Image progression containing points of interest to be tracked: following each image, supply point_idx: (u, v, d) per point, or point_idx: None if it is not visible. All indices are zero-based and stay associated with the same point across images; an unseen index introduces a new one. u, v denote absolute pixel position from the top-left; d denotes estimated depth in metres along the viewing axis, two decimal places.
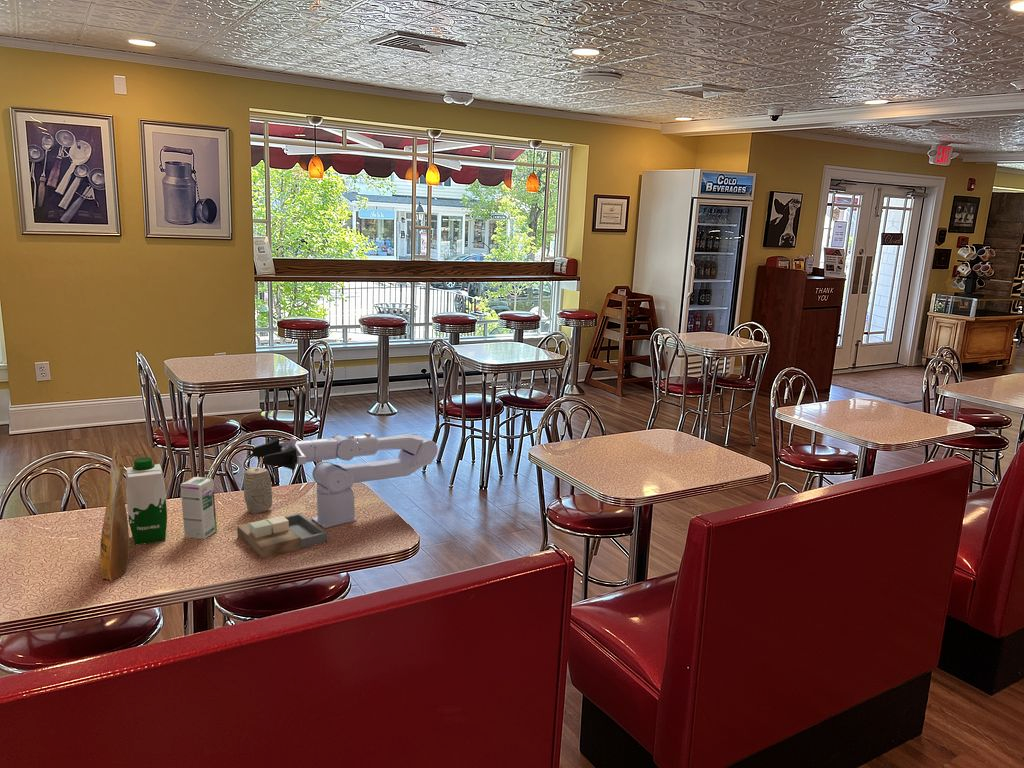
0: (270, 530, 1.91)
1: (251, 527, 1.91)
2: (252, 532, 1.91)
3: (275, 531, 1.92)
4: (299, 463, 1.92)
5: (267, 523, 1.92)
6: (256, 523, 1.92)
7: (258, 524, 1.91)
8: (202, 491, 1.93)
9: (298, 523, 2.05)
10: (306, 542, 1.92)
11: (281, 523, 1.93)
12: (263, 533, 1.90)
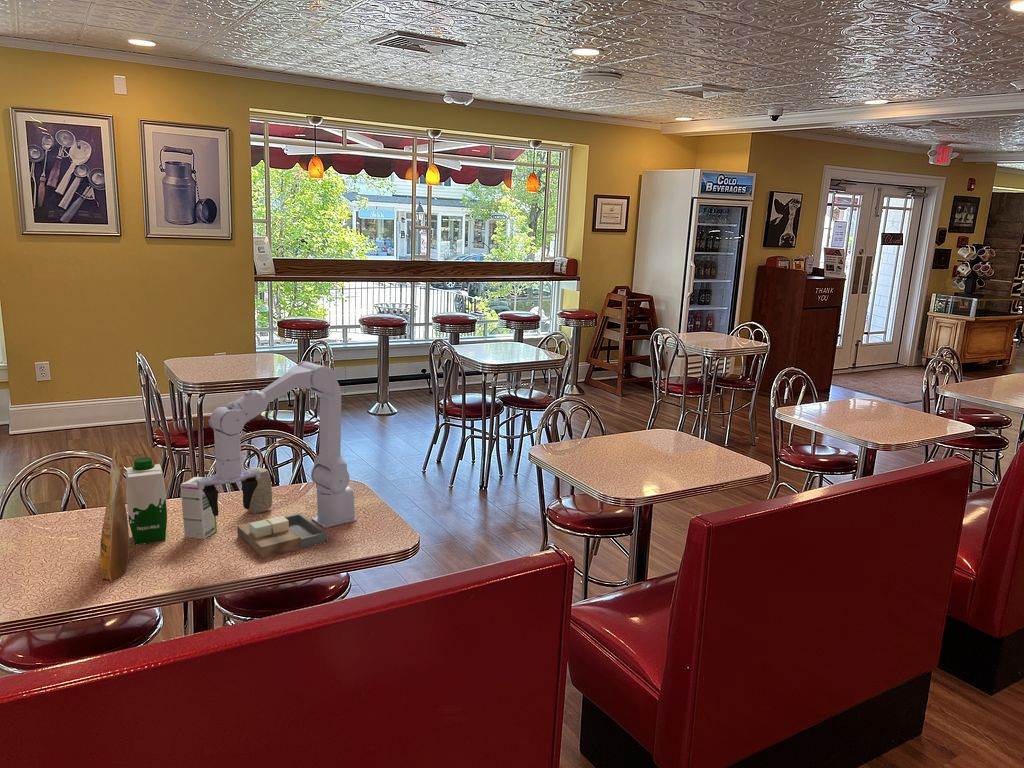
0: (270, 530, 1.91)
1: (251, 527, 1.91)
2: (252, 532, 1.91)
3: (275, 531, 1.92)
4: None
5: (267, 523, 1.92)
6: (256, 523, 1.92)
7: (258, 524, 1.91)
8: (202, 491, 1.93)
9: (298, 523, 2.05)
10: (306, 542, 1.92)
11: (281, 523, 1.93)
12: (263, 533, 1.90)
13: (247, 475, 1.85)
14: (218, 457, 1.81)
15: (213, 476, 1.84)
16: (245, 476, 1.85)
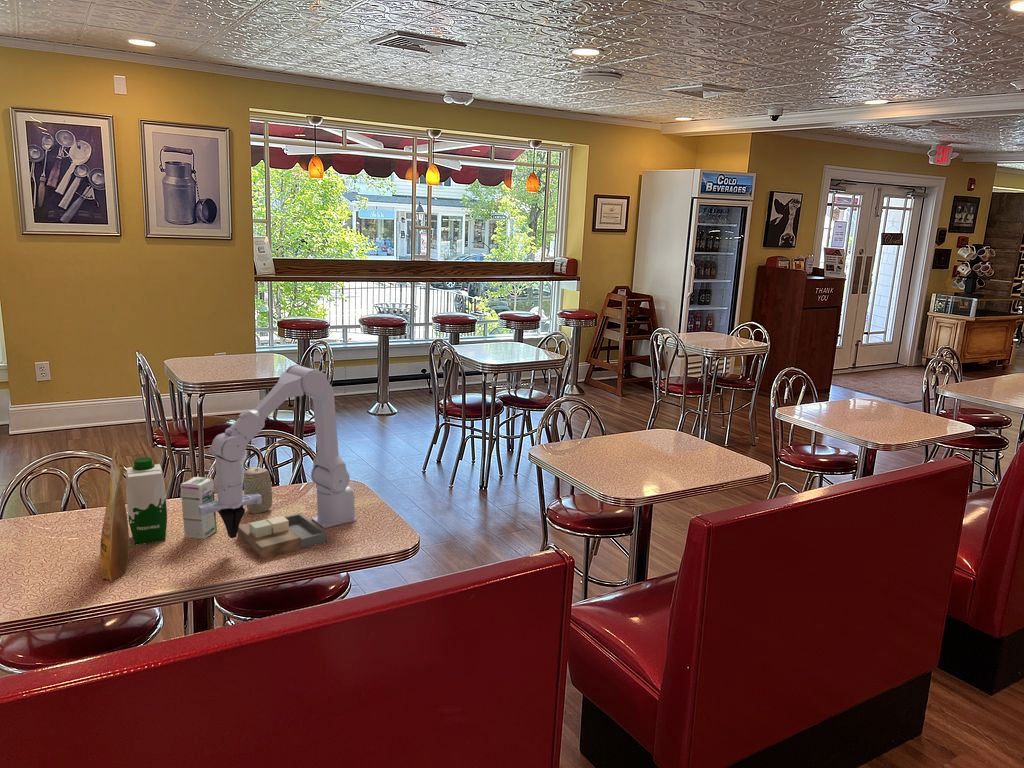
0: (270, 530, 1.91)
1: (251, 527, 1.91)
2: (252, 532, 1.91)
3: (275, 531, 1.92)
4: None
5: (267, 523, 1.92)
6: (256, 523, 1.92)
7: (258, 524, 1.91)
8: (202, 491, 1.93)
9: (298, 523, 2.05)
10: (306, 542, 1.92)
11: (281, 523, 1.93)
12: (263, 533, 1.90)
13: (248, 500, 1.87)
14: (219, 483, 1.82)
15: (214, 502, 1.85)
16: (246, 502, 1.86)
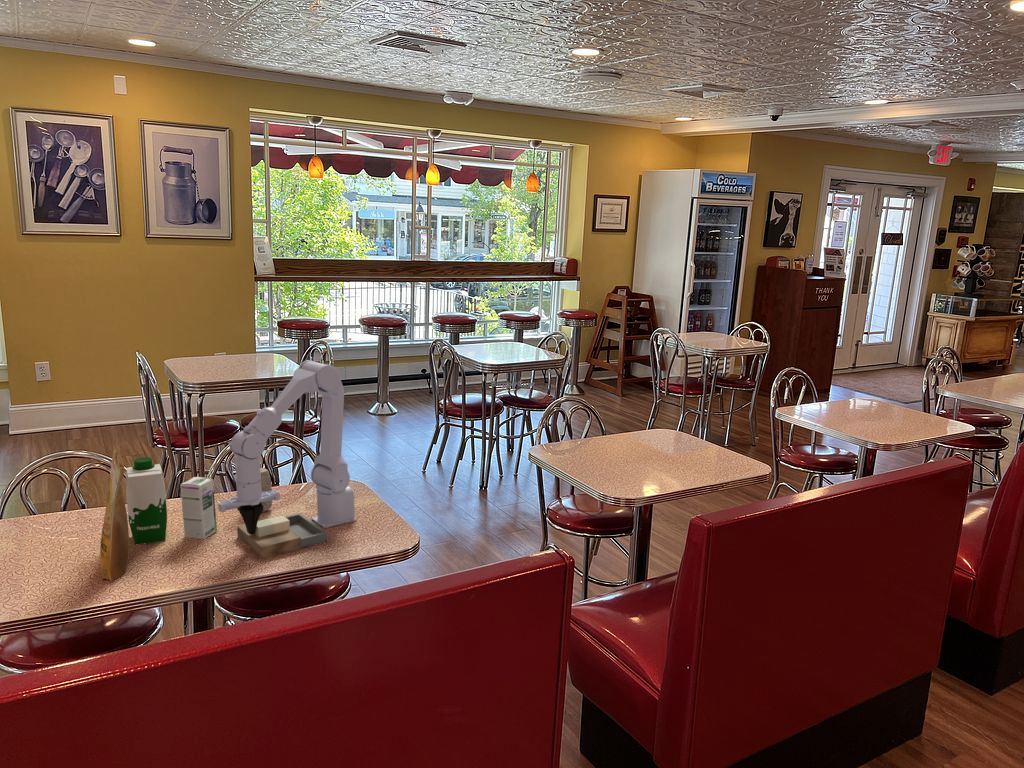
0: (273, 529, 1.92)
1: None
2: (255, 531, 1.91)
3: (276, 531, 1.92)
4: None
5: (270, 522, 1.92)
6: (259, 522, 1.92)
7: (261, 523, 1.92)
8: (202, 491, 1.93)
9: (298, 523, 2.05)
10: (306, 542, 1.92)
11: (282, 523, 1.93)
12: (266, 532, 1.91)
13: (267, 497, 1.89)
14: (239, 480, 1.85)
15: (234, 498, 1.88)
16: (265, 498, 1.89)
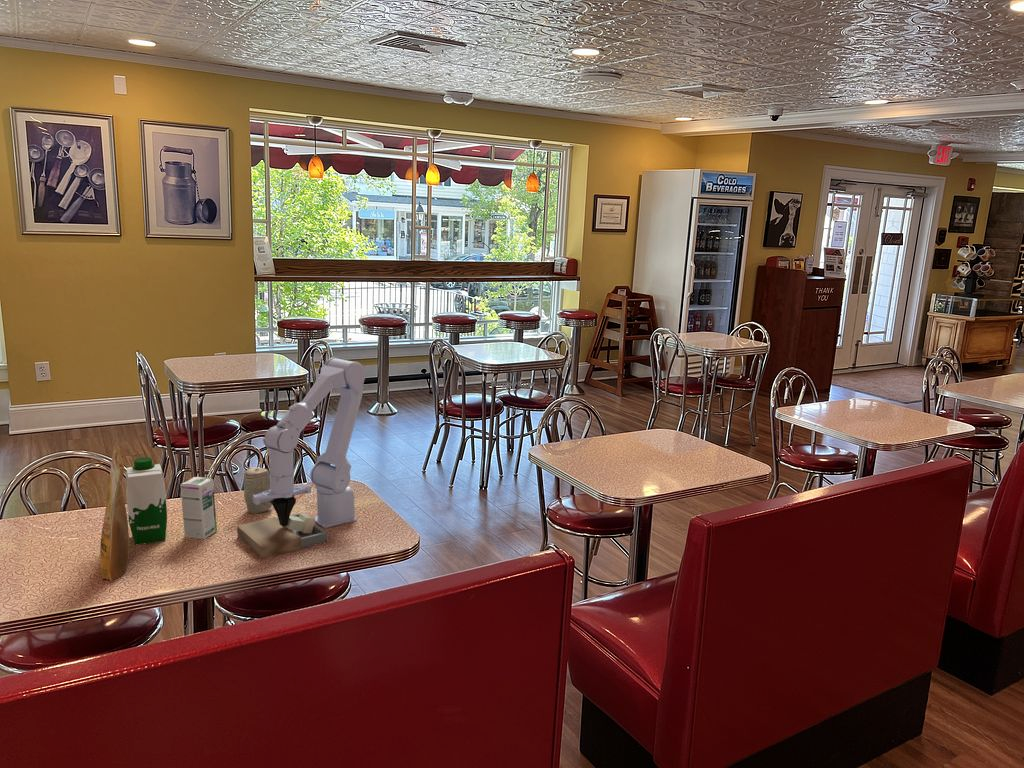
0: (303, 526, 1.97)
1: None
2: None
3: (307, 519, 1.98)
4: None
5: (302, 520, 1.98)
6: (292, 517, 1.98)
7: (294, 518, 1.97)
8: (202, 491, 1.93)
9: None
10: (306, 542, 1.92)
11: (312, 526, 1.99)
12: (296, 527, 1.96)
13: (299, 490, 1.95)
14: (274, 474, 1.90)
15: (267, 491, 1.93)
16: (297, 491, 1.94)
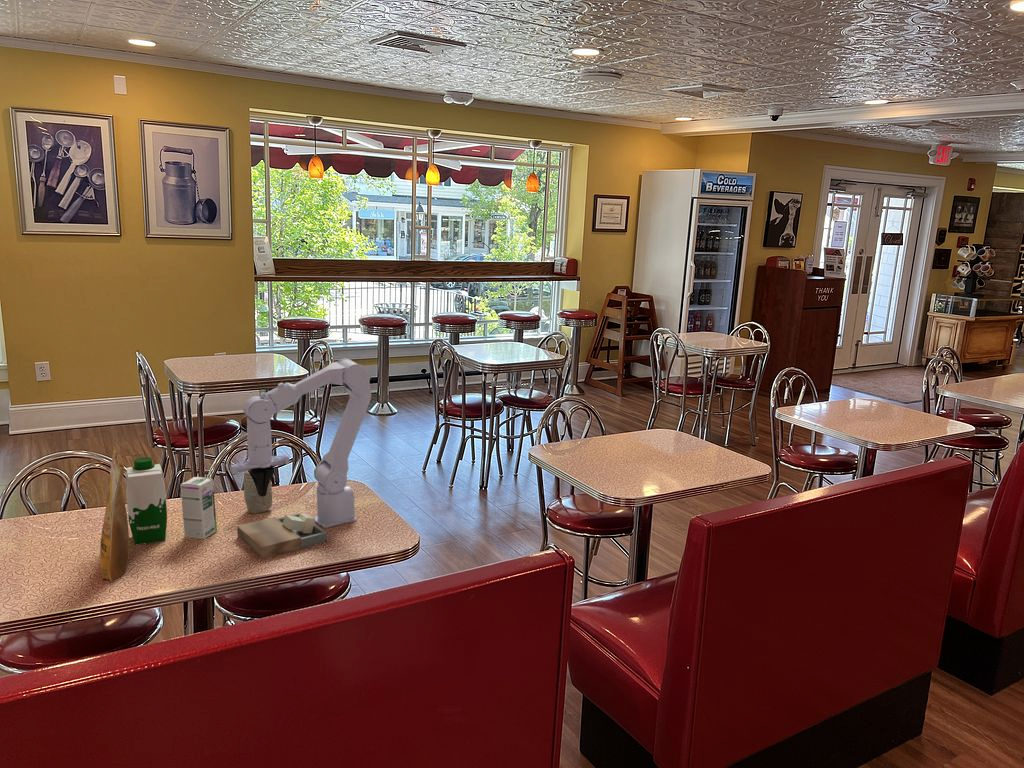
0: (303, 526, 1.97)
1: (286, 519, 1.97)
2: (286, 523, 1.96)
3: (307, 519, 1.98)
4: None
5: (302, 520, 1.98)
6: (292, 517, 1.98)
7: (294, 518, 1.97)
8: (202, 491, 1.93)
9: None
10: (306, 542, 1.92)
11: (312, 526, 1.99)
12: (296, 527, 1.96)
13: (277, 461, 1.97)
14: (248, 443, 1.92)
15: (245, 462, 1.95)
16: (275, 462, 1.96)
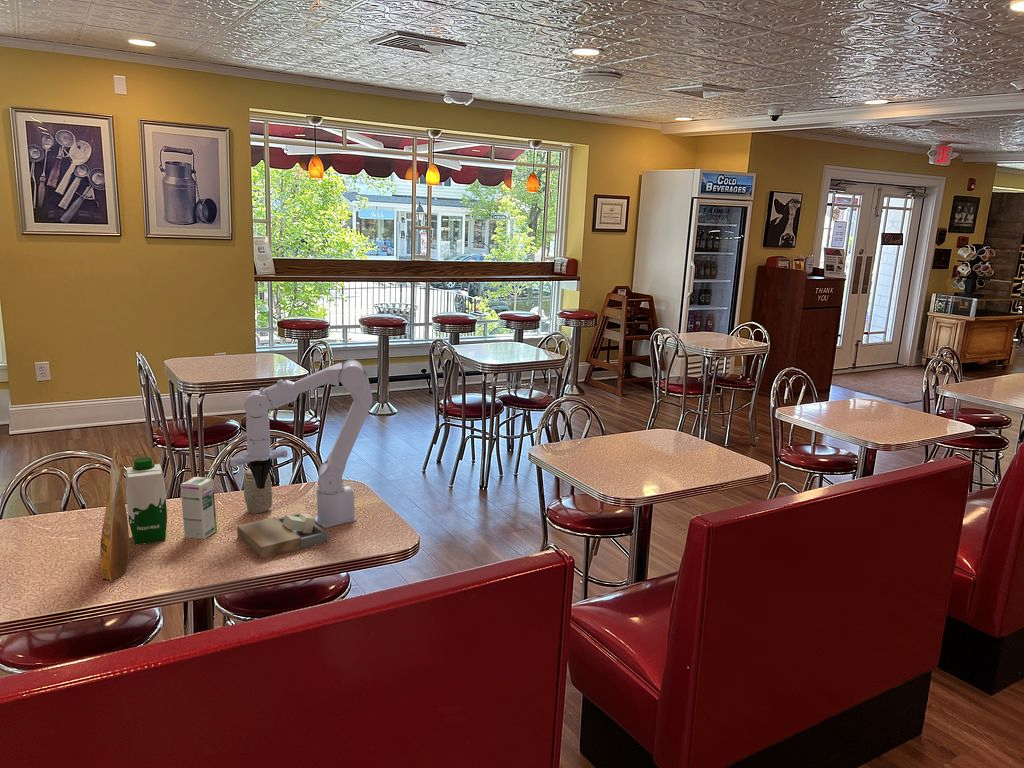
0: (303, 526, 1.97)
1: (286, 519, 1.97)
2: (286, 523, 1.96)
3: (307, 519, 1.98)
4: None
5: (302, 520, 1.98)
6: (292, 517, 1.98)
7: (294, 518, 1.97)
8: (202, 491, 1.93)
9: None
10: (306, 542, 1.92)
11: (312, 526, 1.99)
12: (296, 527, 1.96)
13: (275, 454, 2.02)
14: None
15: (244, 455, 2.00)
16: (273, 455, 2.01)
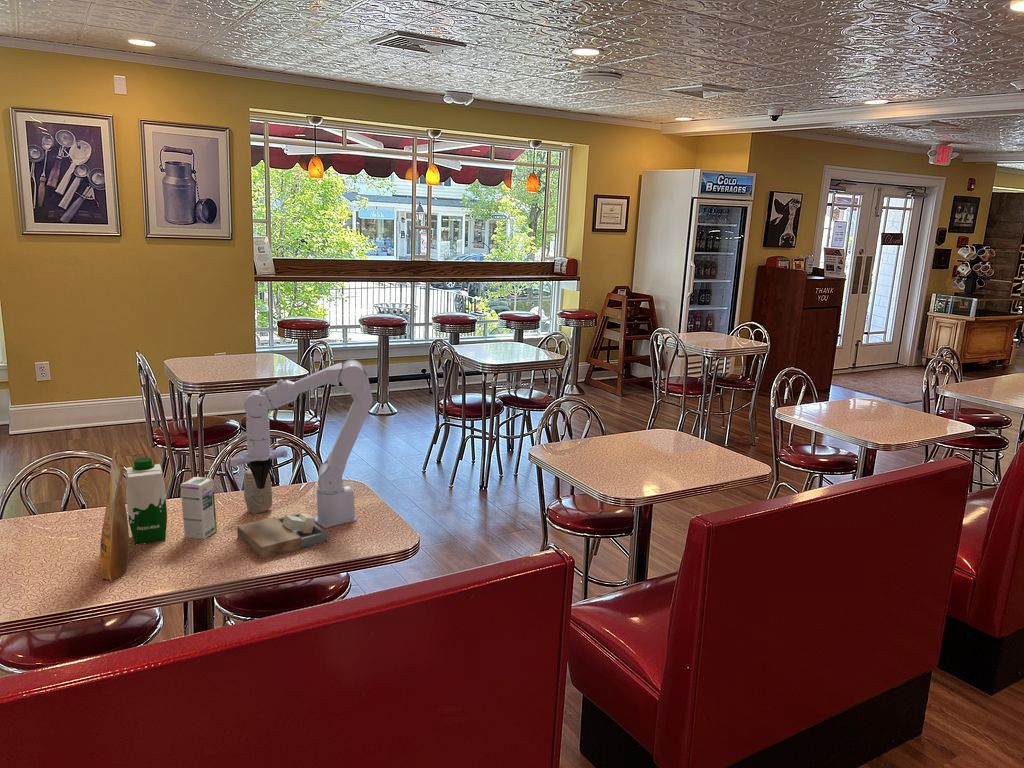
0: (303, 526, 1.97)
1: (286, 519, 1.97)
2: (286, 523, 1.96)
3: (307, 519, 1.98)
4: None
5: (302, 520, 1.98)
6: (292, 517, 1.98)
7: (294, 518, 1.97)
8: (202, 491, 1.93)
9: None
10: (306, 542, 1.92)
11: (312, 526, 1.99)
12: (296, 527, 1.96)
13: (275, 454, 2.02)
14: None
15: (244, 455, 2.00)
16: (273, 455, 2.01)
